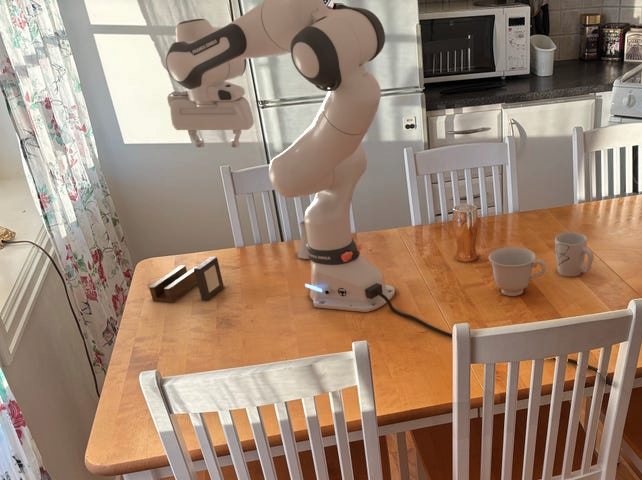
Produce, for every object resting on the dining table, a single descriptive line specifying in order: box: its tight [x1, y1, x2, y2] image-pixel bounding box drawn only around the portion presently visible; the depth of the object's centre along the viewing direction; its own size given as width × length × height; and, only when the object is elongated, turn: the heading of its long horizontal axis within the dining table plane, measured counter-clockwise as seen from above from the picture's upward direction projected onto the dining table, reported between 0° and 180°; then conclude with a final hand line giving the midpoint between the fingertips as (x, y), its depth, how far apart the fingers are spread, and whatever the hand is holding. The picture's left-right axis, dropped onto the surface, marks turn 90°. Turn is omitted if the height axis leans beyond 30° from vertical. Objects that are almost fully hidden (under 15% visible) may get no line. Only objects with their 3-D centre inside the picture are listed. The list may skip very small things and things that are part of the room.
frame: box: [193, 256, 225, 302], centre depth 191 cm, size 8×2×9 cm, turn 165°
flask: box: [297, 220, 310, 260], centre depth 211 cm, size 7×7×10 cm
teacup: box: [488, 246, 547, 297], centre depth 187 cm, size 12×15×10 cm
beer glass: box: [452, 203, 479, 263], centre depth 205 cm, size 7×7×15 cm
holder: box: [149, 264, 198, 304], centre depth 195 cm, size 14×6×4 cm, turn 165°
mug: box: [554, 231, 594, 278], centre depth 195 cm, size 11×8×10 cm
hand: (218, 147), depth 187 cm, fingers open, 8 cm apart
